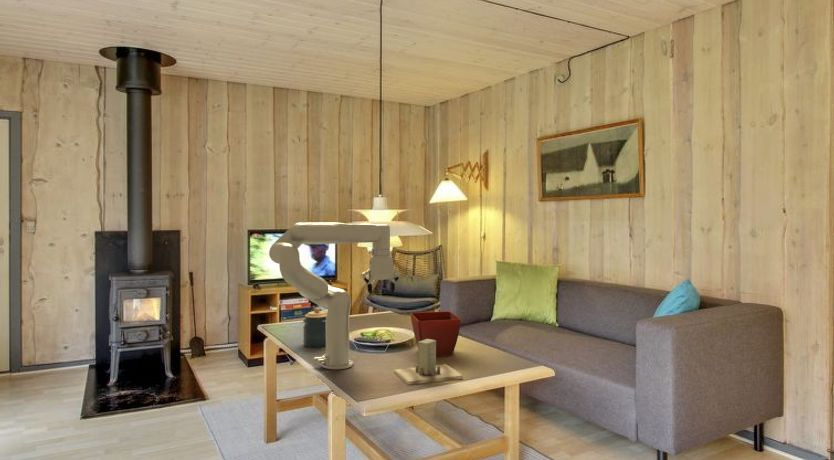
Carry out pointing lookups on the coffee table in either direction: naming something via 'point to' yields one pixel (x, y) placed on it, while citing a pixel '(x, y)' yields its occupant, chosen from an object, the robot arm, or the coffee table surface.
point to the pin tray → (439, 375)
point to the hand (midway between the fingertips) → (381, 292)
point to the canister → (315, 329)
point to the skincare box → (427, 355)
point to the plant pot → (437, 330)
